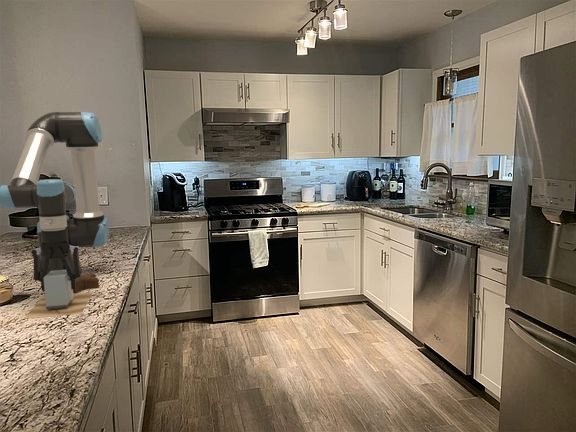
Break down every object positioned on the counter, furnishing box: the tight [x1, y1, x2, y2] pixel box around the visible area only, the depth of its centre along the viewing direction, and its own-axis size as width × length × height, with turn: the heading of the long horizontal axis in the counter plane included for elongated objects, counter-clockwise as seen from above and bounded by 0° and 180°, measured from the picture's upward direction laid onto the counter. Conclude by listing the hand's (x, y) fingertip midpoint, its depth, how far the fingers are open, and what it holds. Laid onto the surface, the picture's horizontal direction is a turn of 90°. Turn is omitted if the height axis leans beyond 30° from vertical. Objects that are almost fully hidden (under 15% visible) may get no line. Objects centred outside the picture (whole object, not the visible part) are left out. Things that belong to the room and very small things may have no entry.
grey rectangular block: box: [44, 270, 73, 309], centre depth 146 cm, size 9×6×10 cm, turn 14°
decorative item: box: [73, 273, 100, 294], centre depth 167 cm, size 16×6×15 cm
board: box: [23, 291, 94, 320], centre depth 147 cm, size 22×16×1 cm
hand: (60, 299), depth 146 cm, fingers closed on grey rectangular block, 6 cm apart
